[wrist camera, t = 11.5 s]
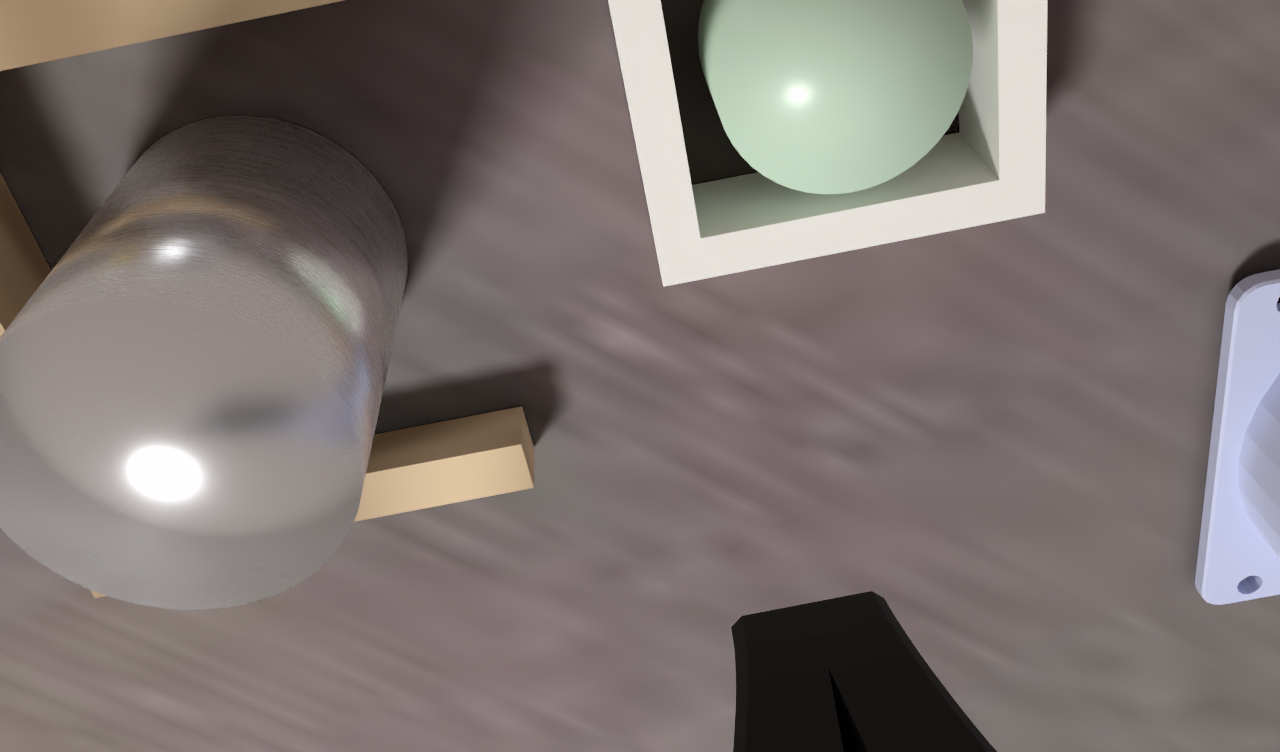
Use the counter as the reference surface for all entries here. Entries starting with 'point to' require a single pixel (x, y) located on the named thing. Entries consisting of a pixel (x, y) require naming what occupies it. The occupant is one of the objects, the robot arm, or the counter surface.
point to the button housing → (832, 223)
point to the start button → (835, 84)
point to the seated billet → (205, 370)
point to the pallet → (15, 268)
